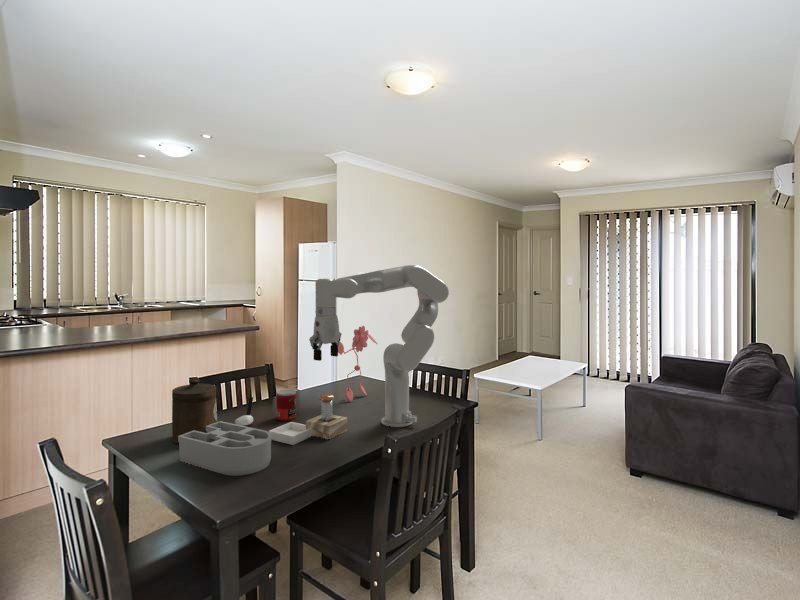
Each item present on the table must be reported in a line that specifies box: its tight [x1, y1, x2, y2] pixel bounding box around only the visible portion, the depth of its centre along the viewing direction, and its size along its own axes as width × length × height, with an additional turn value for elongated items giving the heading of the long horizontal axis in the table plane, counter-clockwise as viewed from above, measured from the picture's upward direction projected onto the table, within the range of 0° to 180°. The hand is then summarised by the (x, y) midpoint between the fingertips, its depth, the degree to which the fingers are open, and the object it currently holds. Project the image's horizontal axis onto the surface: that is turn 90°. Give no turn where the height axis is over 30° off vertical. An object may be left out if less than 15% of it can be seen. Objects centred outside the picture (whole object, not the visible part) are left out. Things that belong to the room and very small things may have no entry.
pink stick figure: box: [338, 325, 378, 403], centre depth 215 cm, size 15×26×35 cm, turn 146°
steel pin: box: [319, 393, 335, 423], centre depth 171 cm, size 5×5×14 cm
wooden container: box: [171, 377, 218, 444], centre depth 166 cm, size 15×15×22 cm
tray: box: [268, 421, 314, 446], centre depth 167 cm, size 12×12×3 cm
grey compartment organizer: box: [178, 420, 272, 477], centre depth 146 cm, size 17×28×9 cm, turn 63°
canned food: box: [276, 389, 297, 422], centre depth 188 cm, size 8×8×11 cm
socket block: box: [305, 414, 349, 440], centre depth 172 cm, size 11×11×5 cm
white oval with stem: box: [234, 396, 254, 428], centre depth 172 cm, size 10×6×12 cm, turn 141°
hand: (326, 358), depth 170 cm, fingers open, 9 cm apart
